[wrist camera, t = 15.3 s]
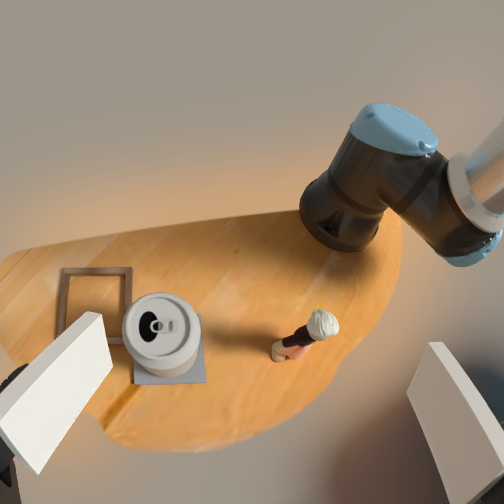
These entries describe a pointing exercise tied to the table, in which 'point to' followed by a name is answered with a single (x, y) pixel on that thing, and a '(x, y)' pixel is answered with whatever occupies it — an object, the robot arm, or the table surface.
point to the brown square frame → (93, 272)
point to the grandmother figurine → (306, 336)
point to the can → (162, 334)
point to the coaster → (191, 376)
